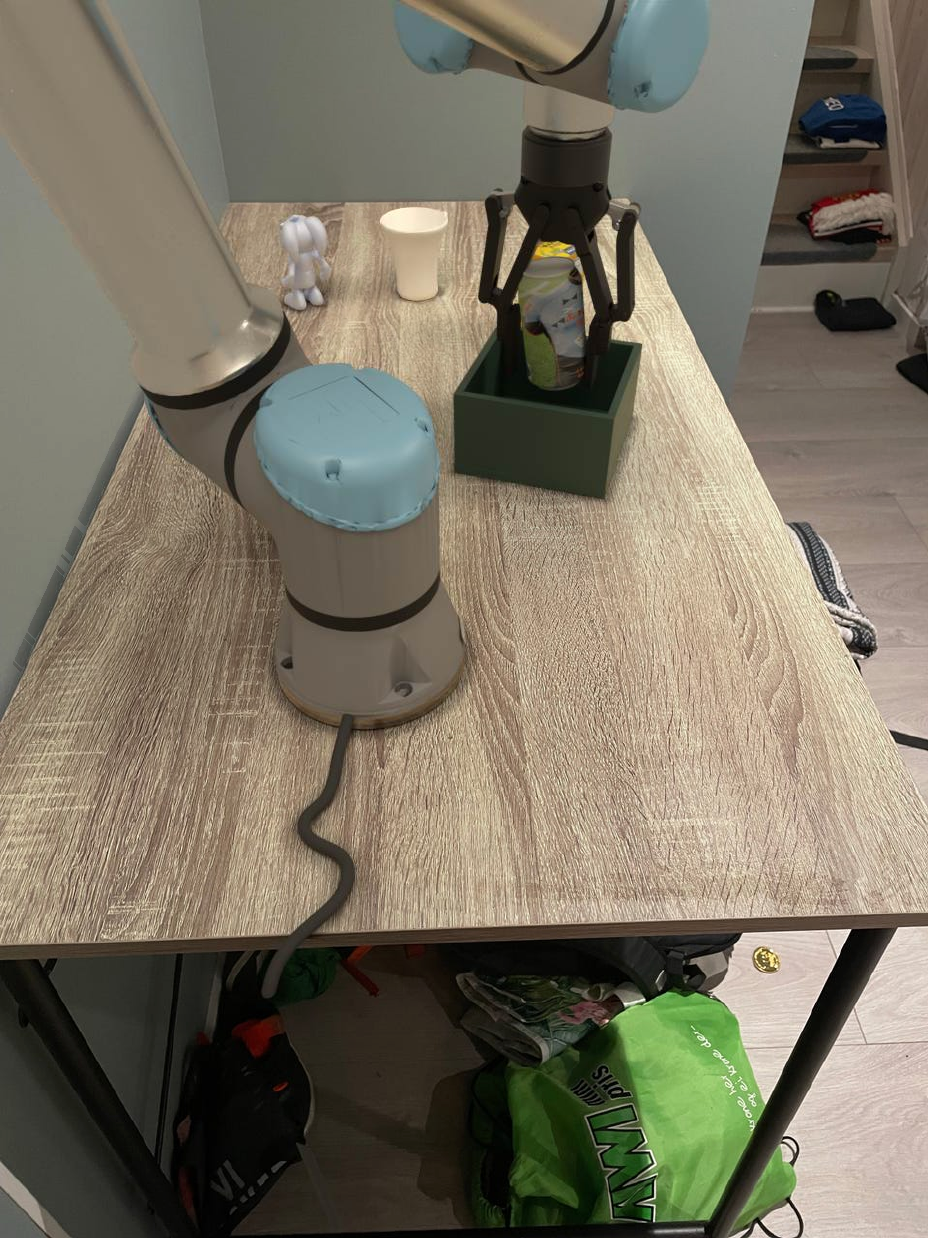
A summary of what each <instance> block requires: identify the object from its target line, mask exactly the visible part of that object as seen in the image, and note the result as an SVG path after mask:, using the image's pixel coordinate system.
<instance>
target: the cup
mask: <svg viewBox="0 0 928 1238" xmlns="http://www.w3.org/2000/svg"><path fill="white" fill-rule="evenodd" d="M448 218H449V213H448V211H446V210H443V211H441V210H438V209H434V208H431V207H420V206H417V207H416V206H410V207H409V206H408V207H401V208H395V209H393V210H390V211H387V212H386V213H384V214H382V216H381V217H380V219H379V226H380V228H381V230H382V232H383V234H384V236H385V237H386V240H387V242H388V245H389V249H390V254H391V256H392V260H393V263H394V270H395V275H396V283H397V284H396V285H397V287H396V288H397V293H398V295H399V296H400V297H401V298H402V299H404V300H407V301H410V302H411V301H412V302H415V301H416V302H420V301H426V300H430V299H433V298H434V297H436V296H437V294H438V292H439V284H438V269H439V266H438V265H439V264H438V263H439V254H440V250H441V244H442V240H443V237H444V235H445V232H446V229H447V228H448V225H449V219H448Z"/></svg>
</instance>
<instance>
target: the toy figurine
mask: <svg viewBox="0 0 928 1238" xmlns="http://www.w3.org/2000/svg"><path fill="white" fill-rule="evenodd" d="M278 228H279V229H278V234H279V239H280V240H279V241H280V242H279V244H280V248H281V249H282V250H284V251H285V252H287V257H286V263H287V265H288V273H287V274H286V276H284V277H283V278H282V279H281V285H282V287H283V288H284V289H292V290H293V291H291V292H288V293H287V294H286V295H285V296H284V297H283V303H284V305H286V306H288V307H289V308H292V309H293V310H296V311H304V310H306V309H307V301H308V302H309V303H310V304H311V305H312V306H317V307H318V306H323V304H324V297H323V294H322V292H321V291H320V289H319V288H318V287H317V285H316V275H315V271H314V267H313V260H314V261H317V262H318V263H319V265H320V266H321V270H320V272H319V273H318V277H319V278H320V279H321V280H322V281H325V280H328V279H329V278H330V277H331V276H332V269H331V266H330V265H329V264H328V262H327V261H326V259H325V258H324V256H325V254H326V250H327V247H328V246H327V245H328V234H327V230H326V228H325V226H324V224H323V222H322V221H321V219H319V218H318V217H317V216H314V215H310V216H308V217H307V216H305V215H302V214H292V215H291V216H289V217H288V218H287V219H286V220H284V221H283V222H281V223H280V224H279V225H278ZM314 245H315V248H313V247H314ZM302 289H304V291H303V290H302Z"/></svg>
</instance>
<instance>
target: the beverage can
mask: <svg viewBox="0 0 928 1238" xmlns="http://www.w3.org/2000/svg"><path fill="white" fill-rule="evenodd" d="M518 295H519V304H520V313H521V321H522V330H523V339H524V348H525V357H526V366H527V375H528V379H529V381H530V382H531V383H533V384H534V385H537V386H538V387H540V388H542V389H545V390H552V391H553V390H564V389H568V388H570V387H573V386H575V385H576V384H578V383H579V382H580V380H582V379H583V378H584V376H585V365H586V355H587V344H586V336H587V332H586V330H587V329H586V316H585V315H586V313H585V299H584V282H583V283H582V275H581V273H580V272H579V270H578V269H577V268H576V267H575V262H574V260H572V259H571V258H568V257H561V256H552V257H544V258H540V259H536V260H533V261H531V263H530V264H529V266H528V267H527V269H526V271H525V272H523V277H522V279H521V281H520V283H519V285H518V292H517V296H518Z"/></svg>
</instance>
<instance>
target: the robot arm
mask: <svg viewBox="0 0 928 1238" xmlns="http://www.w3.org/2000/svg"><path fill="white" fill-rule="evenodd" d="M392 7H393V16H392V19H393V24H394V25H393V26H394V29H395V33H396V36H397V39H398V41H399V44H400V46H401V48H402V50H403V52H404V54H405V56H406V57H407V59H408V60H409V62H410V63H411V64H412V65H413V66H414V67H415V68H417V69H418V70H419V71H420V72H423V73H425V74H428V75H431V76H432V75H433V76H434V75H444V74H445V75H446V74H452V75H455V76H456V75H461V74H462V73H463V72H464V71H467V70H474V69H477V70H478V69H479V70H480V69H481V70H485V71H488V72H492V73H497V74H499V75H503V76H506V77H511V78H513V79H517V80H521V81H523V95H522V96H523V97H522V99H523V101H522V121H523V122H524V123H525V124H526V126H525V128H524V129H523V130H522V133H521V151H520V152H521V153H520V179H519V183H518V185H517V186H516V188H515V189H513V190H505V191H504V190H503V189H502V188H500V187H496V188H494V190H492V192H490V193H489V195H488V196H487V197H486V198H485V200H484V208H485V215H486V220H487V229H486V238H485V244H484V251H483V257H482V265H481V271H480V278H479V286H478V293H477V299H478V302H480V303H481V304H489V305H490V306H492V307H494V309H495V310H496V326H497V339H498V341H502V342H506V360H505V377H511V378H512V377H513V375H514V374H515V372H516V370H517V368H518V366H519V359H520V335H521V313H520V304H518V302H514V301H515V299H516V297H517V295H518V285H519V283H520V281H521V279H522V277H523V272H525V271H526V269H527V267H528V266H529V264H530V263H531V261H532V258H533V256H534V254H535V252H536V250H537V247H538V245H539V243H540V241H541V242H554V241H559V242H561V243H564V244H567V245H574V247H575V251H576V254H577V256H578V257H579V259H580V262H581V265H582V269H583V272H584V279H585V282H586V285H587V289H588V293H589V295H590V299H591V303H592V306H593V307H592V308H593V310H594V315H593V317H592V319H591V322H590V323H589V325H588V335H587V336H588V344H587V355H586V365H585V376H584V386H583V388H584V389H590V390H591V388H592V386H593V383H594V381H595V379H596V375H597V366H598V356H599V355H601V356H606V354H607V352H608V350H609V348H610V345H611V339H612V337H613V328H614V324H615V323H617V322H621V323H627V322H628V321H630V319H631V318H632V315H633V312H634V309H635V307H636V271H635V270H636V269H635V267H636V266H635V265H636V264H635V263H636V261H635V259H636V258H635V252H636V251H635V230H636V227H637V223H638V220H639V217H640V214H641V213H642V207H641V204H640V203H638V202H636V201H633V202H630V203H629V204H627V203H624V202H621V201H618V200H615V199H613V198H612V194H611V192H610V188H609V171H610V161H611V153H612V152H611V151H612V141H613V133H612V132H611V130H610V129H609V126H611V125H612V124H613V122H614V120H615V111H616V110H619V111H624V110H631V111H635V112H641V113H646V114H658V113H660V112H663V111H667V110H668V109H669V108H673V106H674V105H676V104H677V103H678V102H679V101H680V100H682V98H683V97H684V96H685V95H686V93H687V92H688V91H689V90H690V88H691V87H692V85H693V83H694V82H695V80H696V78H697V76H698V74H699V70H700V69H699V68H700V67H701V64H702V61H703V58H704V56H705V55H706V53H707V49H708V44H709V42H710V41H709V40H710V32H711V9H710V2H709V0H392ZM0 133H1V135H2V136H3V138H4V139H5V141H6V142H7V144H8V145H9V147H10V149H11V150H12V152H13V153H14V155H15V156H16V158H17V159H18V161H19V163H20V164H21V165H22V167H23V169H24V170H25V172H26V173H27V175H28V177H29V178H30V180H31V181H32V183H33V185H34V186H35V187H36V189H37V190H38V192H39V194H40V195H41V197H42V198H43V199H44V201H45V203H46V204H47V206H48V208H49V209H50V210H51V212H52V213H53V215H54V216H55V218H56V220H57V221H58V223H59V224H60V226H61V227H62V229H63V230H64V232H65V234H66V235H67V237H68V238H69V240H70V241H71V243H72V244H73V246H74V247H75V249H76V251H77V253H78V254H79V255H80V257H81V258H82V260H83V261H84V263H85V265H87V267H88V269H89V271H90V272H91V273H92V275H93V277H94V278H95V280H96V281H97V283H98V285H99V286H100V288H101V289H102V290H103V292H104V294H105V295H106V297H107V298H108V300H109V301H110V303H111V304H112V306H113V307H114V309H115V311H116V312H117V314H118V315H119V317H120V318H121V320H122V321H123V323H124V324H125V326H126V327H127V329H128V331H129V332H130V333H131V336H132V337H133V339H134V342H133V344H132V347H131V350H130V353H129V359H128V360H129V368H130V373H131V375H132V376H133V378H134V380H135V381H136V383H137V384H138V386H139V388H141V390H142V395H143V401H144V404H145V407H146V410H147V413H148V415H149V417H150V419H151V422H152V423H153V424H154V426H155V428H156V429H157V431H158V433H159V435H160V436H161V438H162V439H163V440H164V441H165V442H166V444H167V445H168V446H169V447H170V448H171V449H172V450H173V451H174V453H176V454H177V455H178V456H179V457H180V458H182V459H183V460H184V461H185V462H187V463H188V464H190V465H191V466H193V467H195V468H196V469H197V470H198V471H199V472H200V473H201V474H203V476H205V477H207V479H209V481H211V482H213V484H215V485H216V486H217V487H218V488H219V489H220V490H222V491H223V492H224V493H225V494H226V495H227V496H228V497H230V499H232V500H234V502H235V503H237V504H238V505H239V507H241V509H243V510H244V511H246V512H247V513H248V514H249V515H250V516H251V517H252V518H254V519H255V520H256V521H257V522H258V523H259V524H260V525H262V526H263V527H264V528H265V529H266V530H267V531H268V532H269V534H270V535H271V537H272V539H273V540H274V542H275V545H276V548H277V549H276V550H277V554H278V559H279V565H280V570H281V573H282V574H281V575H282V579H283V584H284V589H285V590H284V591H285V597H284V601H283V606H282V609H281V614H280V618H279V622H278V626H277V631H276V634H275V638H274V643H273V660H274V666H275V670H276V675H277V678H278V683H279V685H280V687H281V689H282V691H283V693H284V695H285V696H286V697H287V699H288V700H289V701H290V702H291V703H292V705H294V706H295V707H296V708H297V709H299V711H301V712H302V713H303V714H305V715H307V716H309V717H310V718H312V719H314V720H317V721H319V722H321V723H324V724H327V725H331V726H334V727H338V730H337V735H336V738H335V742H334V746H333V749H332V753H331V758H330V762H329V768H328V773H327V778H326V782H325V784H324V788H323V790H322V791H321V794H319V796H318V797H317V798H316V799H315V800H314V801H313V802H311V803H310V804H309V805H308V806H307V807H306V808H305V809H304V810H303V811H302V813H301V814H300V816H299V817H298V820H297V826H296V827H297V832H298V835H299V837H300V839H301V840H302V842H303V843H305V845H306V846H307V847H310V848H311V849H312V850H315V852H318V853H321V854H323V855H324V856H327V857H329V858H331V859H333V860H334V861H335V862H336V863H338V865H339V866H340V879H339V883H338V885H337V887H336V890H335V891H334V893H333V894H332V895H331V897H330V898H329V899H328V900H327V901H326V902H325V903H324V904H322V905H321V906H320V907H319V908H318V909H317V910H315V912H313V914H311V915H310V916H309V917H307V918H306V919H305V920H304V921H303V922H302V923H301V924H300V925H298V927H296V928H295V929H294V930H293V931H292V932H291V933H290V934H289V935H288V936H287V937H286V939H285V940H284V941H283V942H282V944H280V946H279V947H278V949H277V950H276V952H275V954H274V955H273V957H272V959H271V960H270V963H269V965H268V968H267V970H266V972H265V975H264V978H263V982H262V986H261V991H260V992H261V996H262V998H264V999H266V1000H267V999H270V998H272V997H273V996H274V995H276V992H277V988H278V986H279V982H280V978H281V976H282V973H283V971H284V968H285V966H286V964H287V963H288V961H289V960H290V958H291V957H292V955H293V954H294V953H295V951H296V950H297V949H298V948H299V947H300V946H301V944H303V943H304V941H306V940H307V939H308V938H309V937H311V935H312V934H313V933H314V932H316V930H318V929H319V928H320V927H321V926H323V925H324V924H325V923H326V922H327V921H328V920H329V919H331V917H333V915H335V914H336V913H337V912H338V911H339V910H340V908H341V907H342V906H343V904H344V903H345V902H346V900H347V899H348V897H349V896H350V894H351V892H352V889H353V886H354V882H355V874H356V873H355V872H356V869H355V864H354V860H353V858H352V857H351V855H350V853H348V852H347V851H346V849H344V848H342V846H339V845H338V844H335V843H334V842H332V841H329V840H327V839H325V838H323V837H321V836H320V835H318V834H316V833H315V832H313V830H312V826H311V825H312V824H311V823H312V821H313V820H314V819H315V818H316V817H317V816H318V815H319V814H320V813H322V812H323V811H324V810H325V809H326V808H327V807H328V806H329V805H330V804H331V802H332V801H333V799H334V797H335V795H336V793H337V790H338V787H339V785H340V781H341V778H342V777H341V776H342V772H343V763H344V759H345V755H346V750H347V747H348V743H349V739H350V735H351V731H352V730H375V729H384V728H389V727H394V726H398V725H403V724H404V723H408V722H411V721H413V720H415V719H418V718H420V717H421V716H423V715H426V714H427V713H429V712H431V711H432V710H433V709H435V708H437V706H439V705H440V704H441V703H443V702H444V701H445V700H446V699H447V697H449V696H450V694H451V693H452V692H453V691H454V690H455V688H456V687H457V685H458V683H459V681H460V679H461V678H462V675H463V673H464V669H465V665H466V664H465V663H466V645H467V640H466V633H465V627H464V626H465V625H464V620H463V619H464V618H463V616H462V614H461V612H460V609H459V608H457V609H458V613H457V611H456V609H455V607H454V605H453V602H452V600H451V598H450V596H449V594H448V591H447V589H446V587H445V585H444V583H443V581H442V578H441V545H440V544H441V543H440V542H441V541H440V540H441V539H440V538H441V537H440V532H441V531H440V471H441V460H440V459H441V458H440V454H439V452H438V451H439V450H438V446H437V440H436V433H435V427H434V422H433V419H432V415H431V413H430V412H429V411H430V410H429V409H428V407H427V406H426V404H425V402H424V401H423V400H422V398H421V397H420V396H419V394H418V393H417V392H416V391H415V390H414V389H413V388H412V387H411V386H409V385H408V384H407V383H405V382H404V381H403V380H401V379H399V378H398V377H396V376H394V375H392V374H390V373H388V372H385V371H383V370H380V369H377V368H374V367H371V366H366V365H365V366H363V367H362V368H360V369H358V368H357V369H355V368H354V367H353V365H352V364H351V363H348V362H347V363H345V362H328V363H326V362H325V363H318V364H313V363H312V362H311V361H310V359H309V358H308V357H307V356H306V353H305V352H304V349H303V347H302V345H301V343H300V341H299V339H298V338H297V335H296V333H295V331H294V329H293V326H292V325H291V322H290V320H289V319H288V316H287V314H286V312H285V310H284V308H283V305H282V303H281V302H280V300H279V299H278V297H277V295H275V293H273V291H271V290H270V289H268V288H266V287H264V286H262V285H259V284H256V283H252V282H248V281H246V279H245V277H244V274H243V273H242V270H241V269H240V266H239V265H238V263H237V260H236V259H235V257H234V255H233V252H232V250H231V248H230V247H229V244H228V242H227V240H226V239H225V236H224V235H223V232H222V230H221V229H220V227H219V225H218V222H217V221H216V218H215V216H214V214H213V211H212V210H211V209H210V206H209V204H208V203H207V200H206V198H205V197H204V194H203V192H202V190H201V189H200V187H199V184H198V182H197V180H196V179H195V176H194V174H193V172H192V170H191V168H190V167H189V166H190V165H189V164H188V162H187V160H186V158H185V156H184V154H183V152H182V150H181V148H180V146H179V144H178V142H177V140H176V138H175V136H174V134H173V132H172V130H171V128H170V126H169V124H168V122H167V120H166V118H165V116H164V114H163V112H162V109H161V108H160V105H159V104H158V102H157V99H156V97H155V95H154V93H153V91H152V90H151V88H150V85H149V83H148V82H147V79H146V78H145V76H144V73H143V71H142V69H141V67H140V65H139V63H138V61H137V59H136V57H135V55H134V54H133V51H132V49H131V47H130V45H129V44H128V41H127V39H126V37H125V35H124V33H123V31H122V29H121V27H120V25H119V23H118V21H117V19H116V17H115V15H114V14H113V11H112V9H111V6H110V4H109V3H108V1H107V0H0ZM514 206H516V207H517V209H518V210H519V212H520V214H521V215H522V217H523V219H524V220H525V222H526V224H527V225H528V228H527V231H526V233H525V236H524V237H523V240H522V243H521V244H520V245H521V246H520V248H519V250H518V253H517V254H516V257H515V260H514V262H513V264H512V267H511V269H510V271H509V274H508V275H507V278H506V281H505V282H504V285H503V287H502V288H500V287H498V285H499V278H500V271H501V266H502V261H503V260H502V258H503V253H504V247H505V239H506V234H507V228H508V220H509V217H510V216H511V215H512V213H513V211H514ZM606 215H607V216H608V217H610V220H611V228H612V229H613V231H616V232H617V234H616V239H615V265H616V266H615V267H616V268H615V269H616V270H615V271H616V273H615V274H616V303H614V299H613V298H614V297H613V295H612V292H611V288H610V284H609V280H608V277H607V274H606V270H605V266H604V263H603V258H602V256H601V252H600V247H599V244H598V241H599V240H598V235H597V231H596V226H597V225H598V224H599V223H600V222H601V221H602V220H603V219H604V217H605V216H606ZM295 1143H296V1147H297V1149H298V1152H299V1154H300V1157H301V1159H302V1161H303V1163H304V1166H305V1168H306V1170H307V1172H308V1175H309V1177H310V1179H311V1182H312V1183H313V1186H314V1188H315V1191H316V1193H317V1195H318V1197H319V1200H320V1202H321V1204H322V1207H323V1209H324V1212H325V1214H326V1217H327V1221H328V1223H329V1226H330V1229H331V1231H333V1232H339V1230H340V1229H341V1221H340V1218H339V1215H338V1212H337V1208H336V1206H335V1203H334V1201H333V1198H332V1196H331V1193H330V1190H329V1188H328V1186H327V1183H326V1181H325V1179H324V1176H323V1174H322V1171H321V1169H320V1166H319V1164H318V1162H317V1159H316V1157H315V1154H314V1152H313V1148H312V1147H310V1146H307V1145H304V1144H302V1143H299V1142H295Z"/></svg>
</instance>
